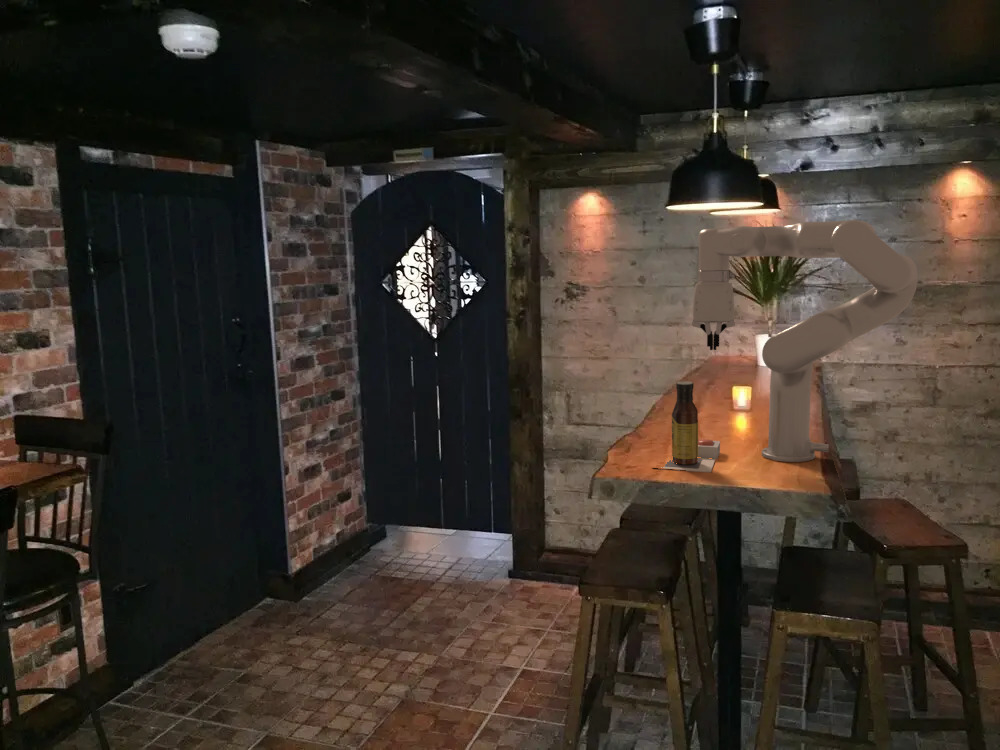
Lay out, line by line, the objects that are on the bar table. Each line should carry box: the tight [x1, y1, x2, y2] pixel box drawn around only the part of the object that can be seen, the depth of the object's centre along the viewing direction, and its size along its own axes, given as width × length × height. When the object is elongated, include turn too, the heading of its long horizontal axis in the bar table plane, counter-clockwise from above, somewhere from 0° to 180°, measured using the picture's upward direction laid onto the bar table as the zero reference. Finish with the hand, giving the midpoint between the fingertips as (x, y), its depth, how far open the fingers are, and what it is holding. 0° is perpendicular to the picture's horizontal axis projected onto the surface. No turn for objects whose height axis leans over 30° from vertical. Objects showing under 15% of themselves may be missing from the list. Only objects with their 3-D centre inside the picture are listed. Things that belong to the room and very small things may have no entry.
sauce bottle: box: [671, 380, 699, 465], centre depth 200 cm, size 7×6×20 cm
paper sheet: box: [661, 458, 716, 473], centre depth 201 cm, size 14×12×1 cm
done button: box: [698, 438, 714, 446], centre depth 210 cm, size 4×4×3 cm
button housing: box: [697, 440, 721, 460], centre depth 210 cm, size 7×7×3 cm
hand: (713, 349), depth 213 cm, fingers closed
